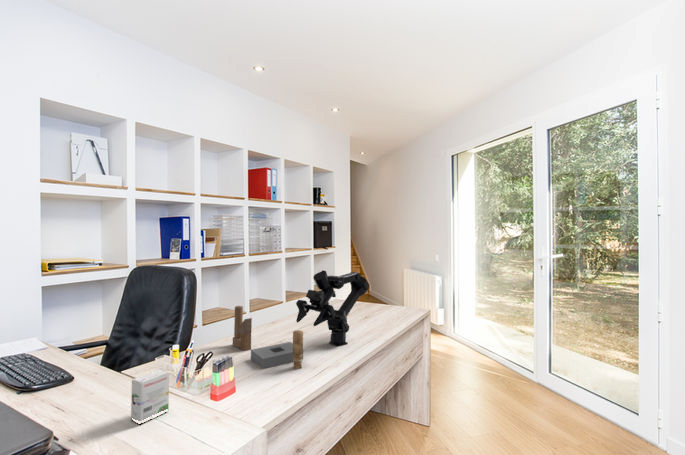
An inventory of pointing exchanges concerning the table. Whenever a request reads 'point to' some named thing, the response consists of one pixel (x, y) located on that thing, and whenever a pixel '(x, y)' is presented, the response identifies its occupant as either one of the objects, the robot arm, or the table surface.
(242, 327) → the wooden block
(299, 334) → the teak leg
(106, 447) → the table surface
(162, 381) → the ink box
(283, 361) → the seat board
